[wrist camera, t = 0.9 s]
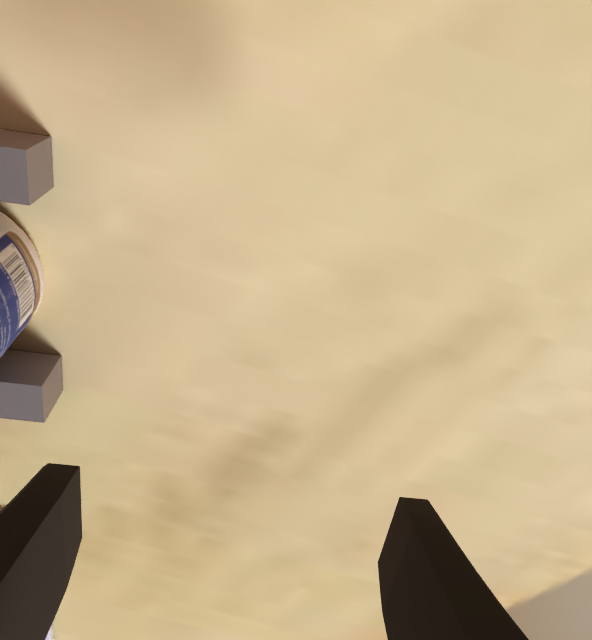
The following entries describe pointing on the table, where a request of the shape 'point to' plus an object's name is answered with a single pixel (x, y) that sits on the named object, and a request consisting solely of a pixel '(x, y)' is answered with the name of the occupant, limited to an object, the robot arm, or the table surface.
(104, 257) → the table surface
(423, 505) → the robot arm
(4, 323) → the pill bottle
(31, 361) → the grey u-shaped piece
